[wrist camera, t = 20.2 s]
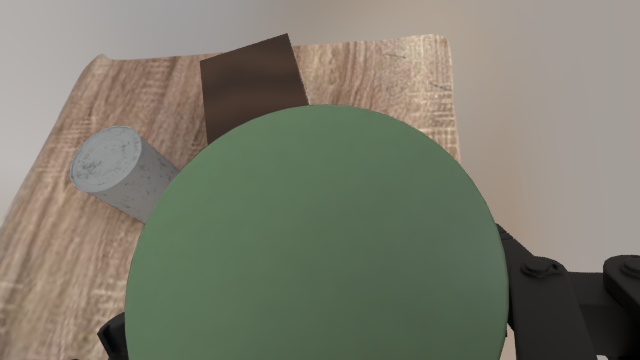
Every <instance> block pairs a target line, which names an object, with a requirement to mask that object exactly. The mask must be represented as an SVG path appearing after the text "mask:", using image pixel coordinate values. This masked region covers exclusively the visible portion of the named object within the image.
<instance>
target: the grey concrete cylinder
mask: <svg viewBox="0 0 640 360" xmlns="http://www.w3.org/2000/svg"><path fill="white" fill-rule="evenodd" d="M179 172H180V170H179V169H177V168H176V167H175V166H174V165H173V164H172V163H171V162H169V161H168V160H167V159H166V158H165V157H164V156H163V155H161V154H160V153H159V152H158V151H157V150H156V149H155V148H153V147H152V146H151V145H150V144H149V143H148V142H147V141H145V140H144V139H143V138H142V137H141V136H140V135H139V134H138V133H137V132H136V131H135V130H134V129H132V128H130V127H127V126H112V127H108V128H105V129H103V130H101V131H99V132H97V133H95V134H94V135H92V136H91V137H90V138H88V139H87V140H86V141H85V142H84V143H83V144H82V145H81V147H80V148H79V149H78V150H77V152H76V154H75V155H74V157H73V160H72V163H71V166H70V178H71V180H72V183H73V184H74V185H75V186H76V187H77V188H78V189H79V190H81V191H84V192H87V193H89V194H91V195H92V196H94V197H96V198H98V199H100V200H102V201H104V202H106V203H108V204H109V205H111V206H113V207H115V208H117V209H119V210H121V211H123V212H125V213H126V214H128V215H130V216H132V217H134V218H136V219H138V220H140V221H141V222H142V223H144V224H146V221H147V219H148V217H149V215H150V214H151V212H152V210H153V208H154V207H155V205H156V203H157V201H158V200H159V198H160V197H161V195H162V194H163V193H164V191H165V190H166V188H167V187H168V186H169V184H170V183H171V181H172V180H173V179H174V178H175V177H176V176H177V175H178V173H179Z"/></svg>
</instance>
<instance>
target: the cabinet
mask: <svg viewBox="0 0 640 360" xmlns="http://www.w3.org/2000/svg"><path fill="white" fill-rule="evenodd" d="M200 69H201V80H202V90H203V101H204V111H205V121H206V132H207V142H208V145H210V144H211V143H212V142H214V141H215V140H216V139H218V138H219V137H221V136H223V135H224V134H226V133H227V132H229V131H231V130H232V129H234V128H236V127H238V126H240V125H242V124H244V123H246V122H248V121H250V120H253V119H255V118H258V117H261V116H263V115H266V114H269V113H272V112H276V111H280V110H284V109H288V108H294V107H301V106H307V105H309V102H308V99H307V96H306V92H305V89H304V85H303V82H302V79H301V75H300V72H299V69H298V66H297V63H296V59H295V56H294V53H293V50H292V47H291V43H290V40H289V37H288V34H287V33H286V34H283V35H280V36H277V37H274V38H271V39H267V40H264V41H261V42H258V43H255V44H252V45H249V46H246V47H242V48H239V49H236V50H233V51H230V52H227V53H224V54H221V55H217V56H214V57H211V58H208V59H205V60H202V61H200Z"/></svg>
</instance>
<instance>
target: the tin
mask: <svg viewBox="0 0 640 360" xmlns="http://www.w3.org/2000/svg"><path fill="white" fill-rule="evenodd" d="M508 313H509V279H508V273H507V266H506V260H505V253H504V249H503V246H502V242H501V239H500V236H499V232H498V229H497V226H496V223H495V221H494V219H493V217H492V215H491V213H490V210H489V208H488V206H487V204H486V202H485V200H484V198H483V197H482V195H481V193H480V192H479V190H478V189H477V187H476V185H475V184H474V182H473V181H472V179H471V178H470V177H469V176H468V174H467V173H466V172H465V171H464V169H463V168H462V167H461V166H460V165H459V163H458V162H457V161H456V160H455V159H454V158H453V157H452V156H451V155H450V154H449V153H447V152H446V151H445V150H444V149H443V148H442V147H441V146H440V145H439V144H437V143H436V142H434V141H433V140H432V139H430V138H429V137H428V136H426V135H425V134H424V133H422V132H420V131H418V130H417V129H415V128H413V127H411V126H410V125H408V124H406V123H404V122H402V121H399V120H397V119H395V118H392V117H390V116H388V115H385V114H381V113H378V112H375V111H371V110H368V109H363V108H357V107H351V106H343V105H307V106H301V107H294V108H288V109H284V110H280V111H276V112H272V113H269V114H266V115H263V116H261V117H258V118H255V119H253V120H250V121H248V122H246V123H244V124H242V125H240V126H238V127H236V128H234V129H232V130H231V131H229V132H227V133H226V134H224V135H223V136H221V137H219V138H218V139H216V140H215V141H214V142H212V143H211V144H210V145H208V146H207V147H206V148H204V149H203V150H202V151H201V152H199V153H198V154H197V155H196V156H195V157H194V158H193V159H192V160H191V161H190V162H189V163H188V164H187V165H186V166H185V167H184V168H183V169H182V170H181V171H180V172H179V173H178V175H177V176H176V177H175V178H174V179H173V180H172V181H171V183H170V184H169V186H168V187H167V188H166V190H165V191H164V193H163V194H162V195H161V197H160V198H159V200H158V201H157V203H156V205H155V207H154V208H153V210H152V212H151V214H150V215H149V217H148V219H147V221H146V224H145V226H144V228H143V230H142V233H141V235H140V237H139V240H138V243H137V246H136V249H135V252H134V255H133V258H132V262H131V266H130V271H129V276H128V281H127V288H126V298H125V335H126V342H127V349H128V356H129V360H499V359H500V356H501V352H502V349H503V345H504V341H505V336H506V328H507V321H508Z"/></svg>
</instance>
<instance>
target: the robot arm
mask: <svg viewBox="0 0 640 360" xmlns="http://www.w3.org/2000/svg"><path fill="white" fill-rule="evenodd" d="M496 226H497V229H498V232H499V236H500V239H501V242H502V246H503V249H504V253H505V260H506V266H507V273H508V279H509V313H508V321H507V323H508V324H509V326H510V327H511V329H512V330H513V331H514V337H515V348H516V360H598V359H597V356H596V355H604V356H606V357H607V358H608V360H640V256H639V255H619V256H615V257H611V258H609V259H607V260H606V261H605V262H604V265H603V273H582V272H581V273H580V272H568V271H567V270H566V269H565V267H564V266H563V265H562V264H560V263H558V262H557V261H555V260H552V259H549V258H545V257H538V256H533V255H532V254H531V253H530V252H529V251H528V250H527V249H526V248H525V247H523V246H522V245H521V244H520V243H519V242H518V241H517V240H515V239H513V237H512V236H511V235H510V234H509V233H507V232H506V231H505V230H504V229H503V228H502V227H501V226H499V224H496ZM97 335H98V337H99V339H100V341H101V342H102V344H103V346H104V348H105V350H106V352H107V354H108V356H109V358H108V360H129V356H128V349H127V342H126V335H125V312H123V313H121V314H119V315H117V316H115V317H114V318H112V319H111V320H109V321H108V322H107V323H106V324H105V325H103V326H102V327H101V328H100V330H99V332H98V333H97ZM505 337H507V328H506V336H505ZM72 360H78V359H72Z"/></svg>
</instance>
